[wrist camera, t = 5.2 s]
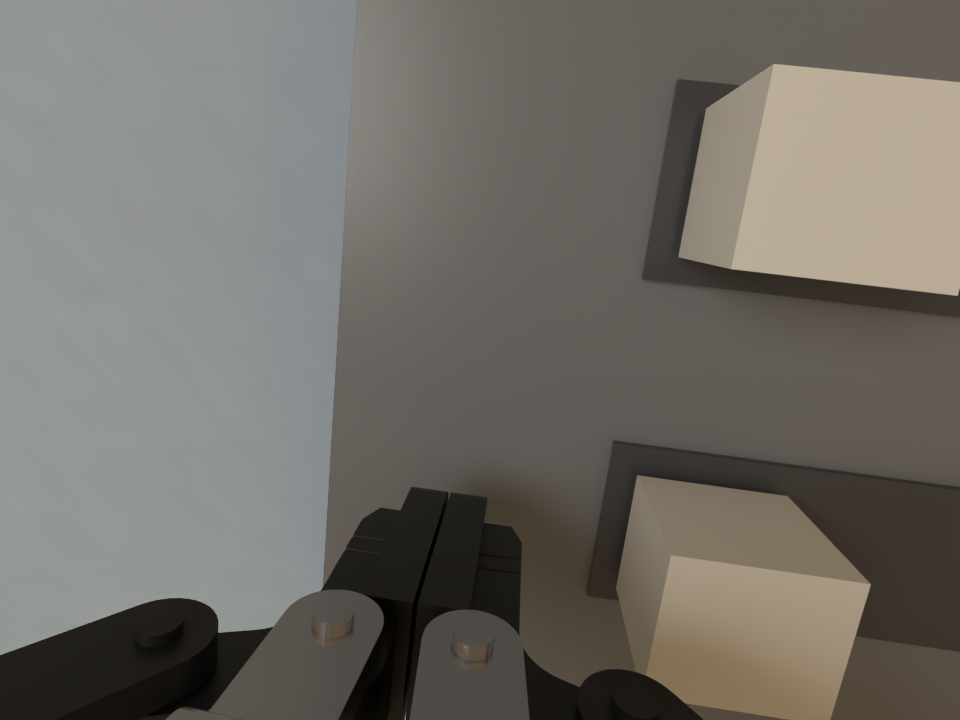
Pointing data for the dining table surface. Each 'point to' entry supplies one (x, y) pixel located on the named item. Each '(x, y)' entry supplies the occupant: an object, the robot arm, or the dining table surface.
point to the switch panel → (632, 317)
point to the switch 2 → (737, 600)
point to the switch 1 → (831, 179)
